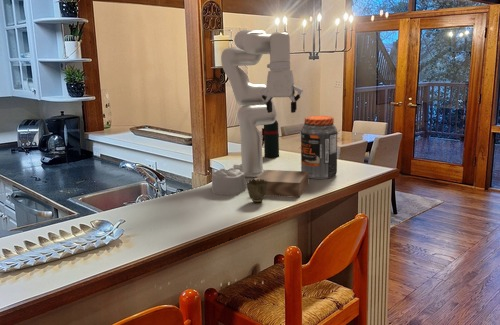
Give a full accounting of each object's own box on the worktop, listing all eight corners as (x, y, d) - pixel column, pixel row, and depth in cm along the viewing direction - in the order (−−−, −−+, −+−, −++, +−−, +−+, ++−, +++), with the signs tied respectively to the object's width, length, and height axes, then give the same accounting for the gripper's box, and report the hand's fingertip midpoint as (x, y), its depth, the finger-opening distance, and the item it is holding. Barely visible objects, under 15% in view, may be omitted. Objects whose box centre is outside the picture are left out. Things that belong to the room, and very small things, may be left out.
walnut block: (253, 195, 178) (253, 180, 177) (266, 183, 195) (266, 169, 193) (299, 198, 172) (299, 182, 171) (308, 185, 189) (308, 171, 188)
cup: (260, 206, 163) (260, 184, 161) (243, 203, 167) (242, 182, 165) (271, 200, 169) (270, 179, 168) (254, 198, 173) (253, 177, 171)
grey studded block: (235, 196, 177) (235, 174, 175) (207, 193, 182) (205, 171, 180) (247, 189, 186) (247, 168, 184) (220, 186, 191) (219, 166, 189)
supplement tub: (294, 174, 207) (293, 117, 201) (322, 169, 214) (323, 114, 208) (314, 181, 193) (314, 120, 187) (344, 176, 200) (345, 117, 194)
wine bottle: (264, 154, 252) (263, 99, 246) (281, 155, 247) (280, 99, 241) (258, 157, 245) (256, 101, 239) (275, 158, 241) (274, 101, 234)
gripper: (255, 67, 173) (257, 113, 176) (298, 66, 165) (299, 113, 169) (263, 67, 179) (264, 111, 183) (305, 65, 172) (306, 111, 175)
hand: (281, 112), depth 176 cm, fingers open, 9 cm apart
